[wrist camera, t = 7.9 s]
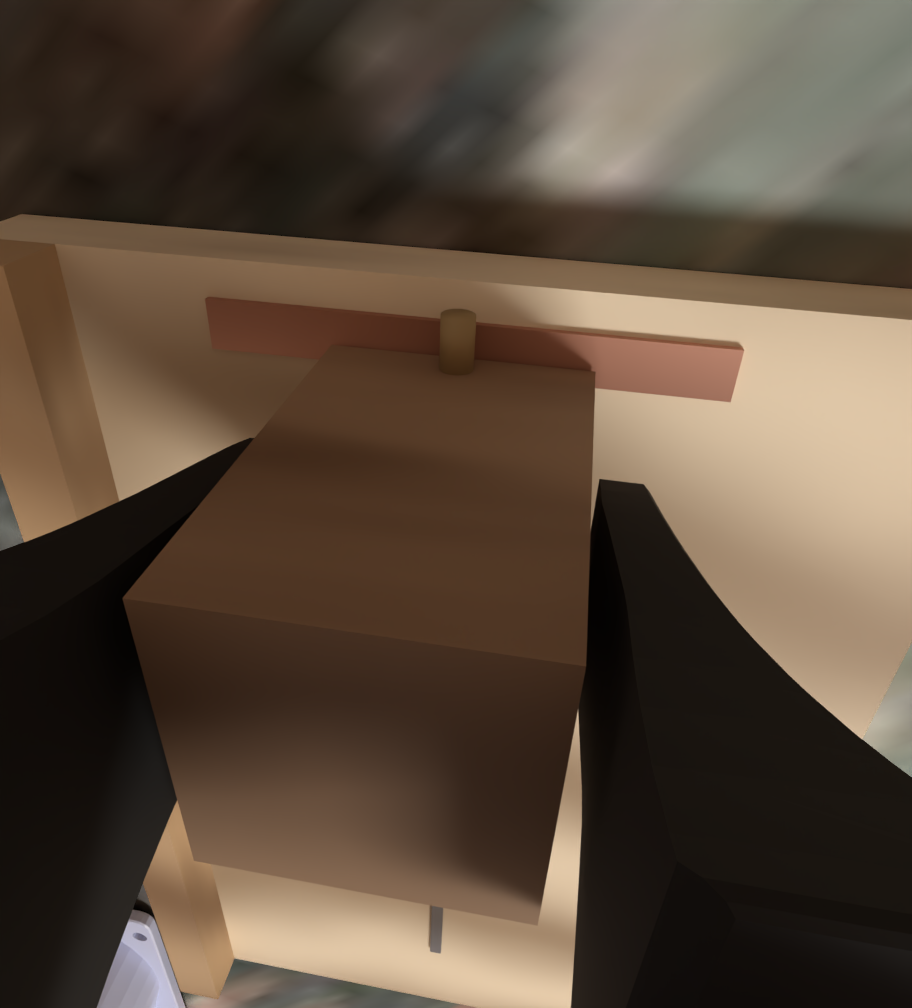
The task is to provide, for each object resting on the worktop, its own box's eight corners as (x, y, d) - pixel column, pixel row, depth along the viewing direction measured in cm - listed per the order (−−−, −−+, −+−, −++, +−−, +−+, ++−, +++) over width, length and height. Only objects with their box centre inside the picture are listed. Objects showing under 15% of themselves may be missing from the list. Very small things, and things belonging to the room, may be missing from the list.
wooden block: (564, 583, 13) (537, 925, 8) (343, 553, 14) (194, 860, 9) (604, 318, 11) (600, 589, 6) (328, 292, 11) (102, 522, 6)
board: (697, 997, 23) (706, 1102, 21) (207, 902, 25) (168, 988, 23) (1017, 298, 11) (1120, 369, 9) (21, 213, 13) (-100, 256, 11)
